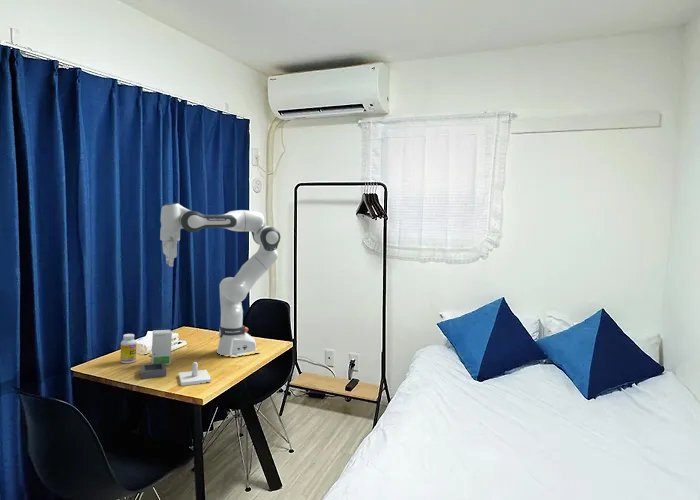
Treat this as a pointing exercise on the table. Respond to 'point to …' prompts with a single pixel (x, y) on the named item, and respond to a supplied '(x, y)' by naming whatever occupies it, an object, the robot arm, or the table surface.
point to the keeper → (194, 376)
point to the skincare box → (161, 346)
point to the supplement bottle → (128, 349)
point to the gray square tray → (153, 370)
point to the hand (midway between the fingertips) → (169, 265)
